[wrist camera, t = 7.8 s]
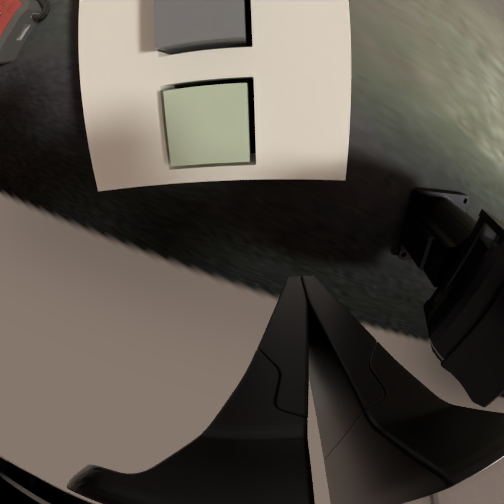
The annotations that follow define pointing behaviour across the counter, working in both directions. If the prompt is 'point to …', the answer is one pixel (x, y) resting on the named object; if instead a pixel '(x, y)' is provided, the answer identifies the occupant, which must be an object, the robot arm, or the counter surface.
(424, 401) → the robot arm
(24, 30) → the walkie-talkie
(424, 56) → the counter surface
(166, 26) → the charcoal key
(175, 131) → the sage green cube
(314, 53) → the three-button panel
